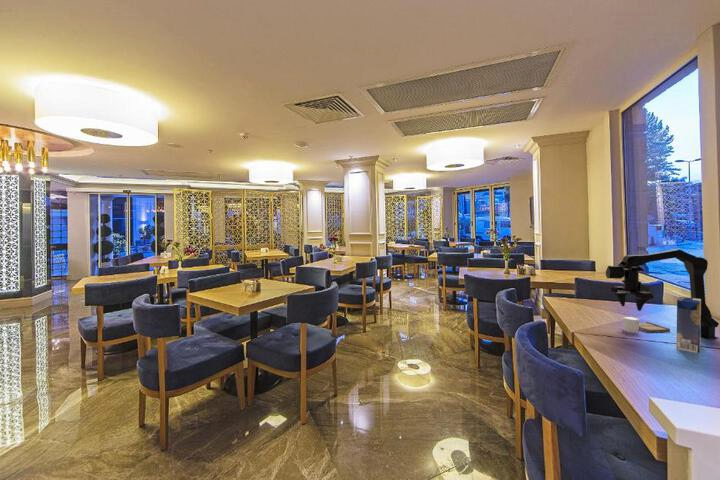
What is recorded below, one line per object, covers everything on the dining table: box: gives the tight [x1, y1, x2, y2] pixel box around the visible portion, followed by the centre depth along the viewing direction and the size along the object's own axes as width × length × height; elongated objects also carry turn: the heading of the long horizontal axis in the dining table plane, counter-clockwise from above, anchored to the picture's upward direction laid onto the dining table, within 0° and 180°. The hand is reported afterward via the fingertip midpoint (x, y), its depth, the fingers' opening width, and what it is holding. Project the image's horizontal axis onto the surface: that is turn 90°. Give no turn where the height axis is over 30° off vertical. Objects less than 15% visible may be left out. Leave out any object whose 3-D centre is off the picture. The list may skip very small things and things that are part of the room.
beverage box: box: [675, 296, 702, 354], centre depth 137 cm, size 7×11×22 cm, turn 130°
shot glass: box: [622, 316, 641, 334], centre depth 160 cm, size 7×7×7 cm
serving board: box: [638, 321, 671, 333], centre depth 163 cm, size 12×12×2 cm
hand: (631, 308), depth 160 cm, fingers open, 9 cm apart
